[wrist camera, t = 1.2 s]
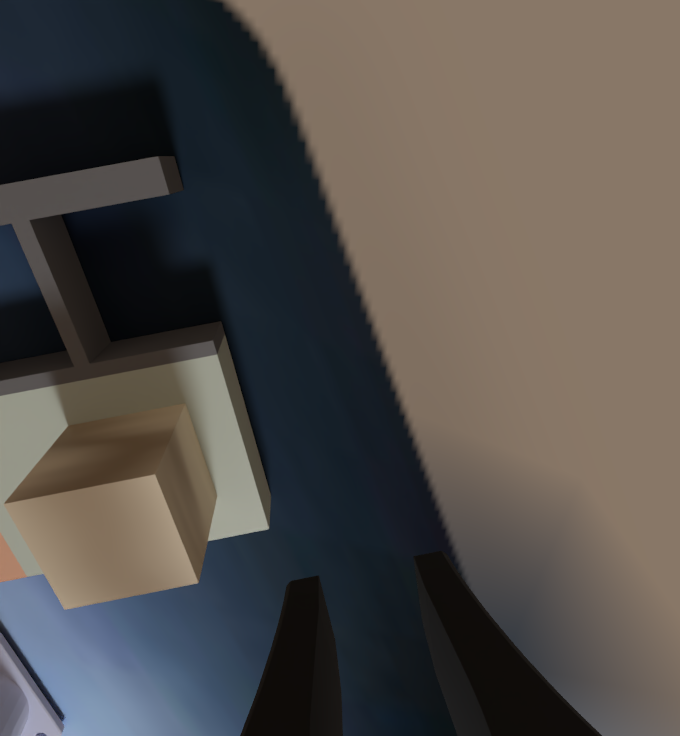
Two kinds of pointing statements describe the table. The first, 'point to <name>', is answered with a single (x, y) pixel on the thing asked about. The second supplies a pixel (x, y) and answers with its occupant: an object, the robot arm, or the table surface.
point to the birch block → (118, 507)
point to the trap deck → (114, 360)
